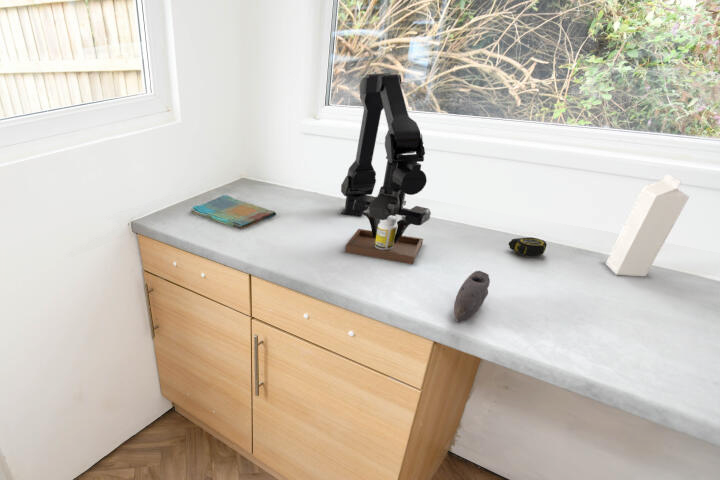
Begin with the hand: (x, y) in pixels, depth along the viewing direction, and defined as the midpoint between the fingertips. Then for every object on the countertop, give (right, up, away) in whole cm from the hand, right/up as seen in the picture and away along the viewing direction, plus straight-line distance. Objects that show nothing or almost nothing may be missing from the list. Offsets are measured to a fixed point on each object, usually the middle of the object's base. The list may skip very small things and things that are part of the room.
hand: (385, 240), depth 127 cm
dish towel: (-40, +14, +28) cm, 51 cm away
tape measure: (+35, -4, -4) cm, 35 cm away
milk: (+52, -10, -14) cm, 55 cm away
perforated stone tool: (+8, -21, -26) cm, 34 cm away
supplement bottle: (0, -2, +1) cm, 2 cm away
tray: (0, -2, +1) cm, 2 cm away
